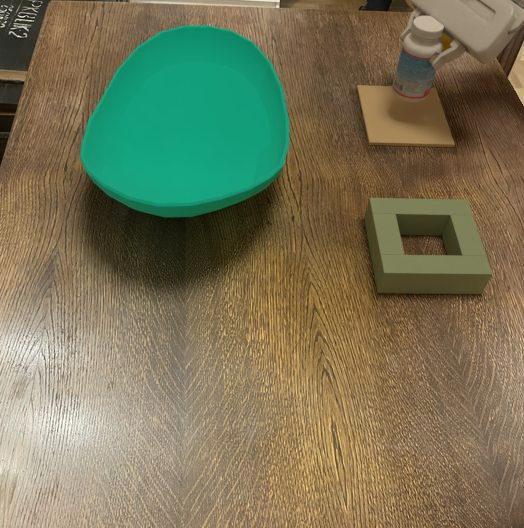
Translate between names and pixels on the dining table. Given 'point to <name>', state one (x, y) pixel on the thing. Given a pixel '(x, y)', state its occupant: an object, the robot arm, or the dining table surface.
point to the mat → (403, 119)
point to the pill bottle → (418, 60)
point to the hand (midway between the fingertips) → (417, 54)
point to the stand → (426, 266)
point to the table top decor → (188, 124)
